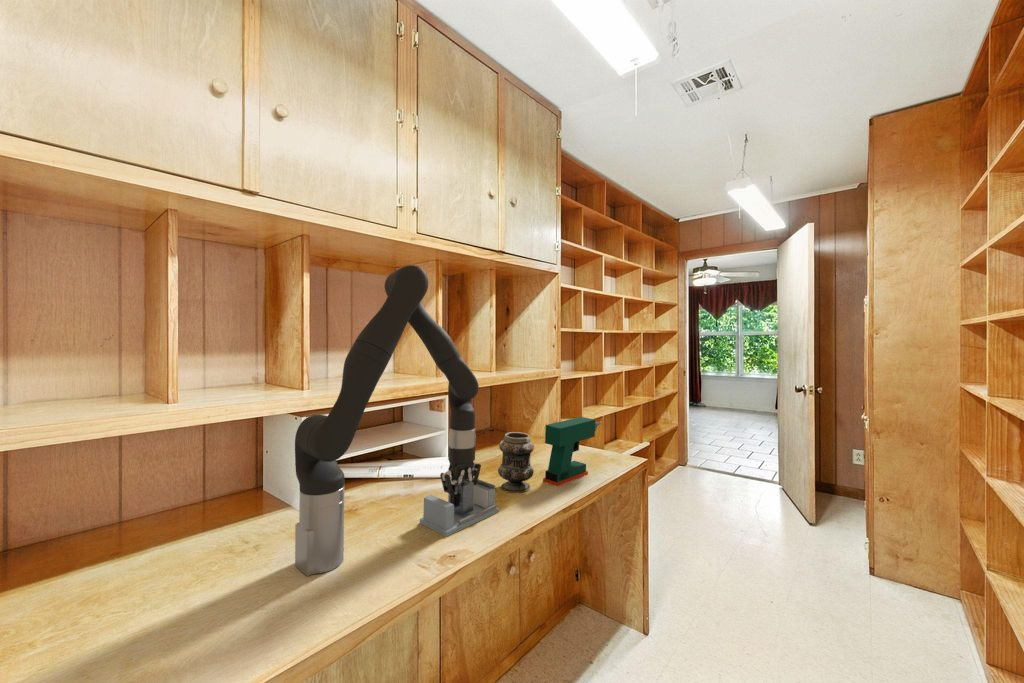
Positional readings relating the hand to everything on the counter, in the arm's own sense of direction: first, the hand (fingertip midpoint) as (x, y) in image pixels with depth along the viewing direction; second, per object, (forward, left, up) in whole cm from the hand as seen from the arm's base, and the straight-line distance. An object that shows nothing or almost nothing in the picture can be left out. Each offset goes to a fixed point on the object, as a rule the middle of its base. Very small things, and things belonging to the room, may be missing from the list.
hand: (460, 503), depth 120 cm
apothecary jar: (+28, +3, -4) cm, 29 cm away
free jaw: (+8, 0, -3) cm, 9 cm away
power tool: (+55, -4, -4) cm, 55 cm away
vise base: (0, 0, -4) cm, 4 cm away
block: (0, 0, -2) cm, 2 cm away
